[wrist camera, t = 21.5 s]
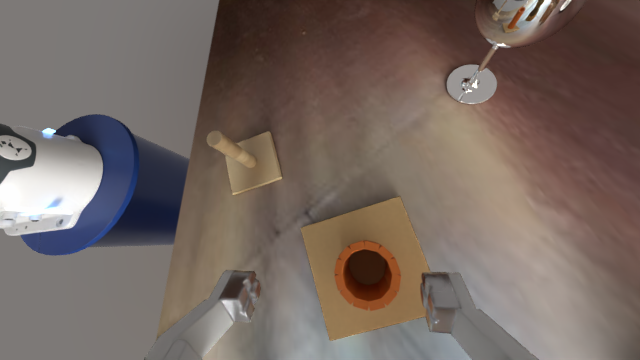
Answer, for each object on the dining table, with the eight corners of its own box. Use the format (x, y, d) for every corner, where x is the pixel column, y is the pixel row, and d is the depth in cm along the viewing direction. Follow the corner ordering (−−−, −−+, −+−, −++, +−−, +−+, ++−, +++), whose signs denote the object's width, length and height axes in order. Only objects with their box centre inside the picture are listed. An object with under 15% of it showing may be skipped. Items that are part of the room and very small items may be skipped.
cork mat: (331, 337, 29) (329, 341, 28) (302, 228, 33) (300, 227, 32) (443, 308, 27) (446, 311, 26) (398, 197, 31) (399, 195, 30)
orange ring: (351, 297, 29) (345, 318, 21) (337, 248, 30) (326, 251, 23) (399, 283, 28) (411, 300, 20) (381, 234, 30) (386, 233, 22)
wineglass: (507, 109, 31) (673, -47, 14) (441, 112, 33) (518, -24, 16) (499, 57, 33) (637, -135, 16) (437, 63, 35) (503, -105, 18)
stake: (235, 195, 36) (188, 179, 27) (227, 150, 39) (181, 121, 29) (282, 178, 35) (251, 156, 26) (271, 133, 38) (238, 98, 28)
